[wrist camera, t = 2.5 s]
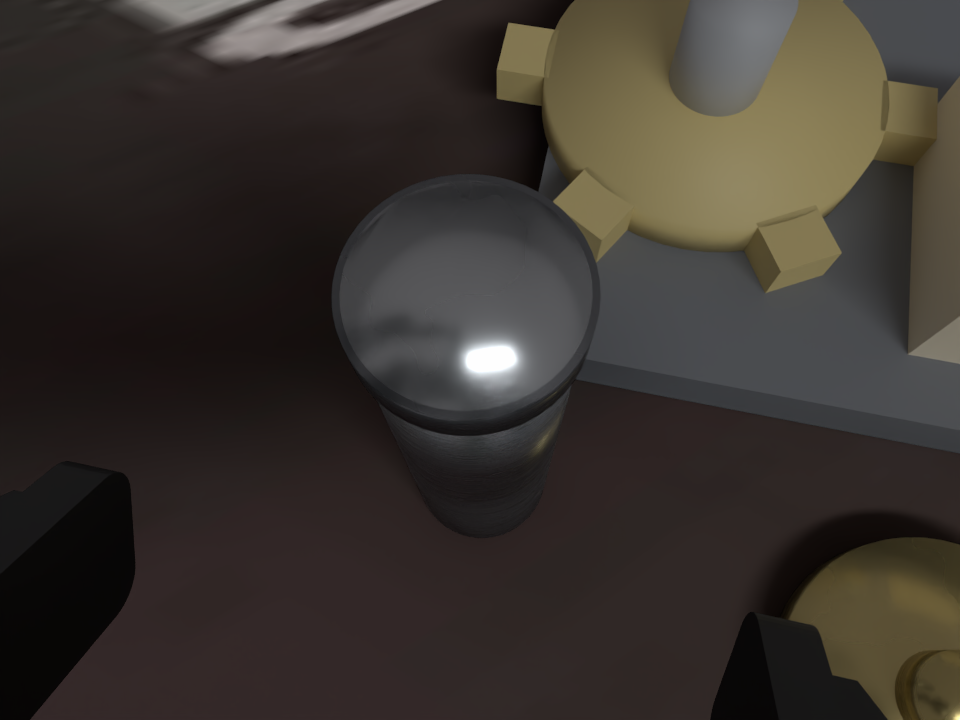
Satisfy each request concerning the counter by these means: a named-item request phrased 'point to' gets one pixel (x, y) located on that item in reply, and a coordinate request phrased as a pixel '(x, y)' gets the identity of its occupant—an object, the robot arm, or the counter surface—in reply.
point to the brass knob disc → (891, 623)
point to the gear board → (763, 200)
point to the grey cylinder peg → (469, 337)
